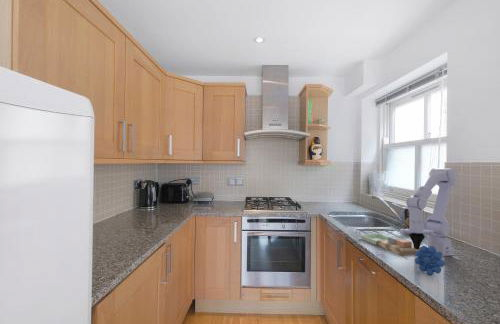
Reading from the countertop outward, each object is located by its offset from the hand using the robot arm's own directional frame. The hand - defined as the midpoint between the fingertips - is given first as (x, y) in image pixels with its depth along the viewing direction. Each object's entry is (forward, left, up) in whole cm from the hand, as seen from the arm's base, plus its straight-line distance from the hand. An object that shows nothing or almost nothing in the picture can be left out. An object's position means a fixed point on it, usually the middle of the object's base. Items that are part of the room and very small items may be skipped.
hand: (416, 248), depth 123 cm
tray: (+26, 0, -4) cm, 26 cm away
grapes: (-18, +13, -4) cm, 23 cm away
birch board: (+11, 0, -4) cm, 12 cm away
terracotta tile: (+8, 0, -1) cm, 8 cm away
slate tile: (+13, 0, -1) cm, 13 cm away
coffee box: (+35, -37, -4) cm, 51 cm away
